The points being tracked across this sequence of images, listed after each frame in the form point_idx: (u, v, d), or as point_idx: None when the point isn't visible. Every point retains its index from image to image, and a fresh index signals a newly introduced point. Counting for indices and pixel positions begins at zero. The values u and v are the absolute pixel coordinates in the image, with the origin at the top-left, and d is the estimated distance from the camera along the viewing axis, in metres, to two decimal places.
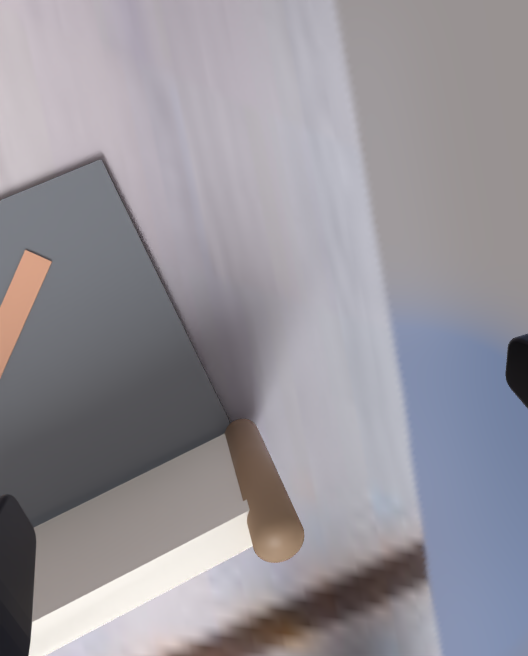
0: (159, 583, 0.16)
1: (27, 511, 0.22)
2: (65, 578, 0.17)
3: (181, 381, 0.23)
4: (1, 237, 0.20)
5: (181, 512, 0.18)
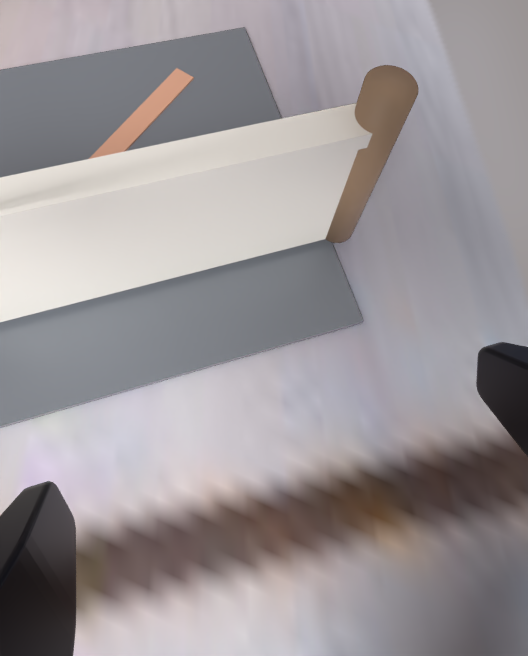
0: (258, 147, 0.15)
1: None
2: None
3: None
4: (162, 60, 0.26)
5: None
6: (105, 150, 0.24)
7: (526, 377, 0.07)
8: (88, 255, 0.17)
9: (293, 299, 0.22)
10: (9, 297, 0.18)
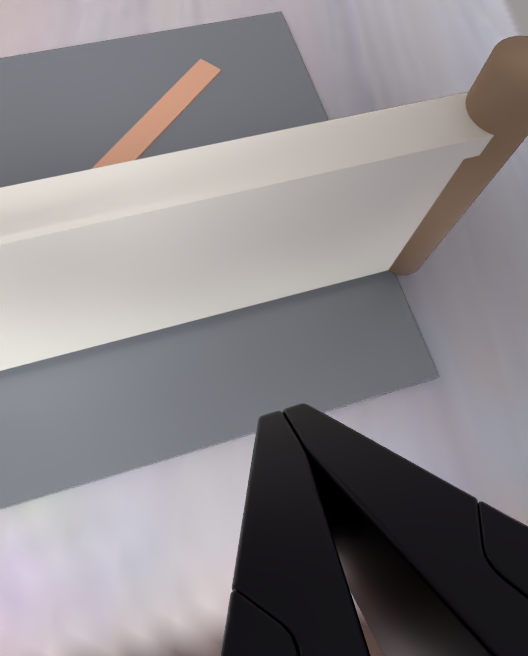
0: (332, 154, 0.10)
1: None
2: None
3: None
4: (182, 49, 0.22)
5: None
6: (113, 157, 0.19)
7: None
8: (86, 299, 0.13)
9: (349, 347, 0.17)
10: None
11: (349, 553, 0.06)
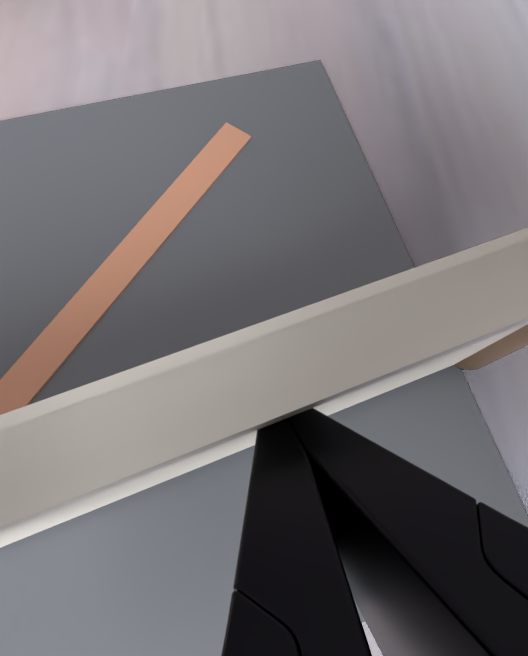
0: (450, 317, 0.07)
1: None
2: None
3: None
4: (204, 110, 0.18)
5: None
6: (122, 255, 0.16)
7: None
8: (92, 498, 0.09)
9: None
10: None
11: (348, 553, 0.06)
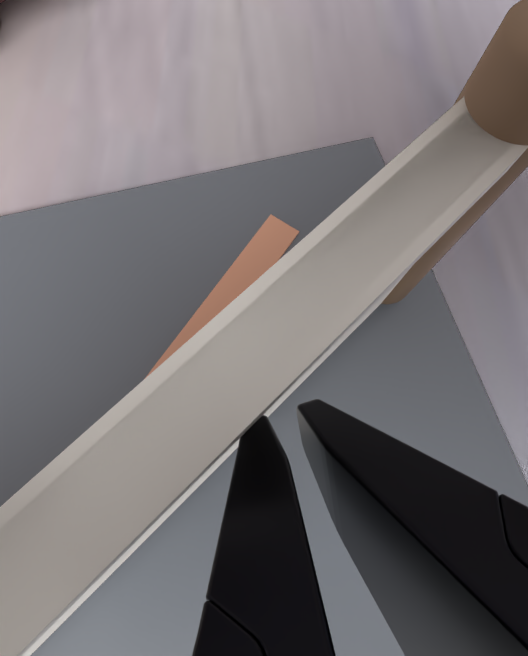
0: (354, 277, 0.07)
1: (173, 632, 0.12)
2: None
3: (461, 427, 0.14)
4: (245, 199, 0.16)
5: None
6: None
7: (317, 445, 0.07)
8: None
9: None
10: None
11: (366, 547, 0.06)
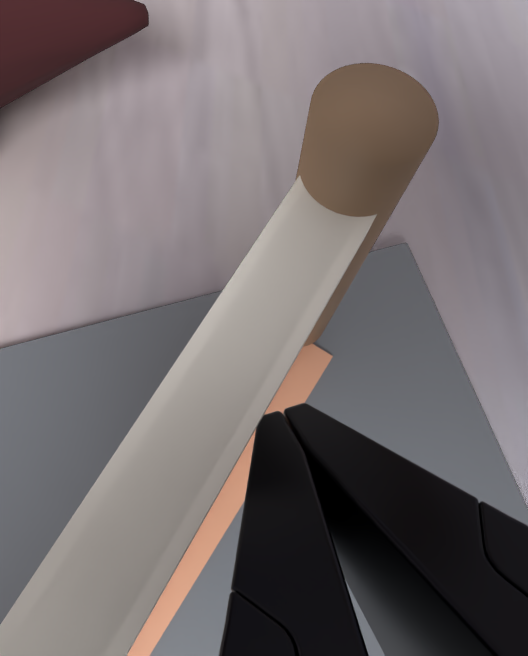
0: (222, 420, 0.06)
1: None
2: None
3: None
4: None
5: None
6: None
7: None
8: None
9: None
10: None
11: (350, 553, 0.06)
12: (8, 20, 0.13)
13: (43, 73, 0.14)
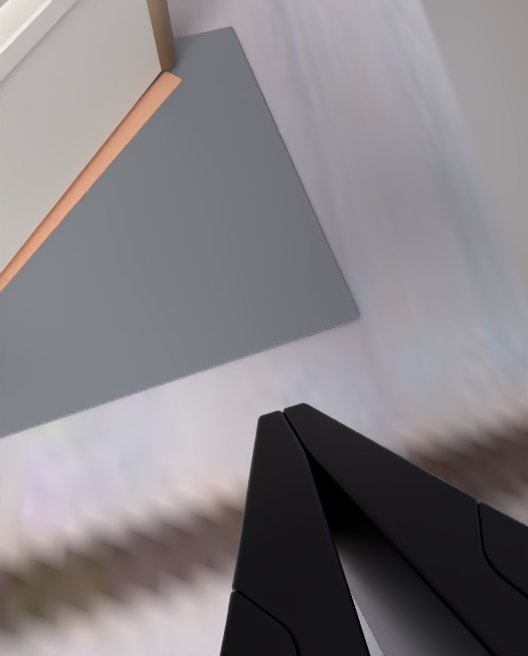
0: None
1: (106, 271, 0.22)
2: None
3: (273, 176, 0.24)
4: None
5: None
6: (96, 157, 0.24)
7: None
8: (11, 163, 0.19)
9: (289, 297, 0.22)
10: None
11: (349, 553, 0.06)
12: None
13: None
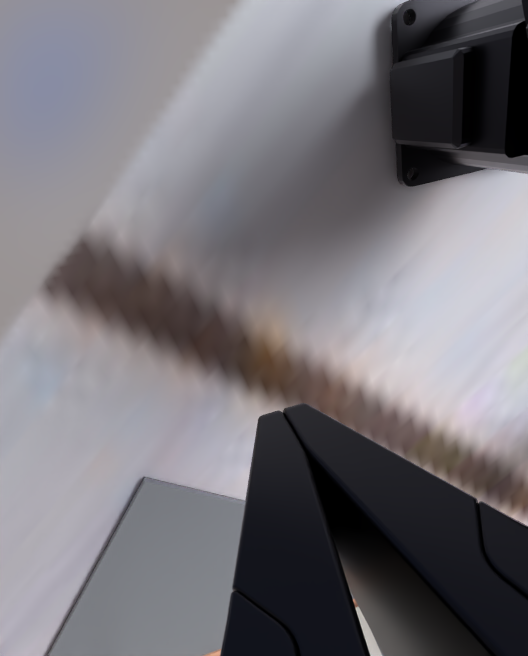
0: None
1: None
2: None
3: (100, 606, 0.25)
4: None
5: None
6: None
7: None
8: None
9: (180, 522, 0.24)
10: None
11: (349, 553, 0.06)
12: None
13: None
